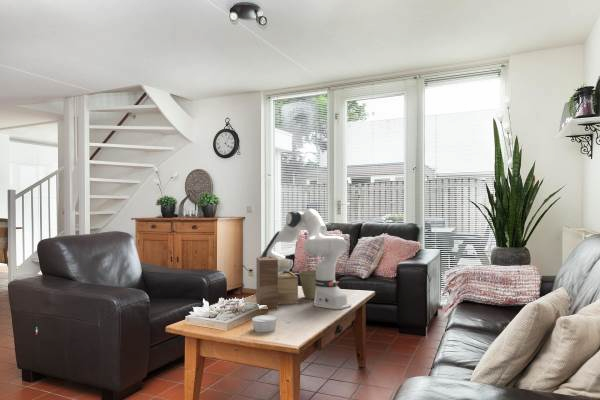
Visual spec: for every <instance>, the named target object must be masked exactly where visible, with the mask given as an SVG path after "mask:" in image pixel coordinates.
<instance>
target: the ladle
mask: <svg viewBox="0 0 600 400" xmlns="http://www.w3.org/2000/svg"><path fill="white" fill-rule="evenodd" d="M276 259H277V260H278V265H279V267H280V268H289V267H290V260H291V259H290V258H287V259H283V258H282V257H276Z"/></svg>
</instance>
